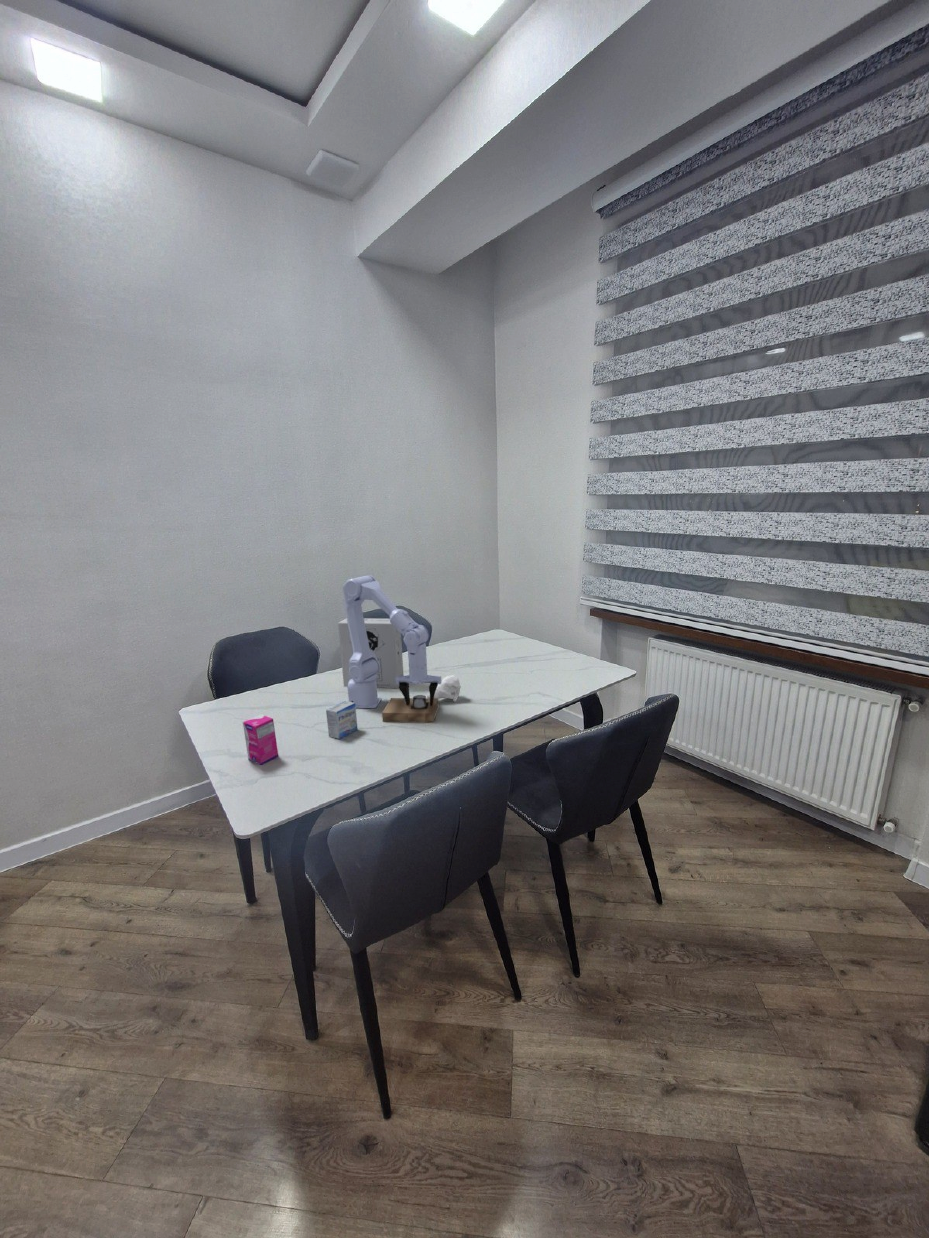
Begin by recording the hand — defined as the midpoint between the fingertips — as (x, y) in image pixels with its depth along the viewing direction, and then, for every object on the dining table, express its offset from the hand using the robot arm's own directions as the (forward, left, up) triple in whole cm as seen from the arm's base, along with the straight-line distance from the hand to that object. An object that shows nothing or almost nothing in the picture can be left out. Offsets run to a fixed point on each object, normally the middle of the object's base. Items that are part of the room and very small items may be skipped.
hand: (420, 704), depth 159 cm
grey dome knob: (0, 0, -3) cm, 3 cm away
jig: (-3, 0, -3) cm, 5 cm away
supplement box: (-38, -30, -4) cm, 49 cm away
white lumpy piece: (+6, +11, -4) cm, 13 cm away
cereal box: (-23, +27, -4) cm, 36 cm away
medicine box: (-21, -14, -4) cm, 26 cm away
